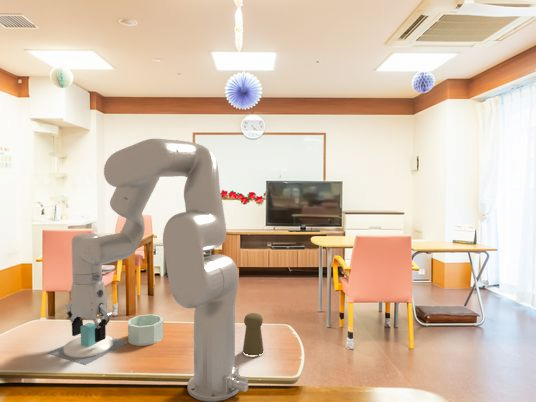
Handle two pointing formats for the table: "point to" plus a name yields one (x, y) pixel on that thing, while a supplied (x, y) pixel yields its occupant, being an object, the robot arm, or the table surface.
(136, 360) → the table surface
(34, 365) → the table surface
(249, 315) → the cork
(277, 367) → the table surface
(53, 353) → the mat
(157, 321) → the bowl
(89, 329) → the lid
